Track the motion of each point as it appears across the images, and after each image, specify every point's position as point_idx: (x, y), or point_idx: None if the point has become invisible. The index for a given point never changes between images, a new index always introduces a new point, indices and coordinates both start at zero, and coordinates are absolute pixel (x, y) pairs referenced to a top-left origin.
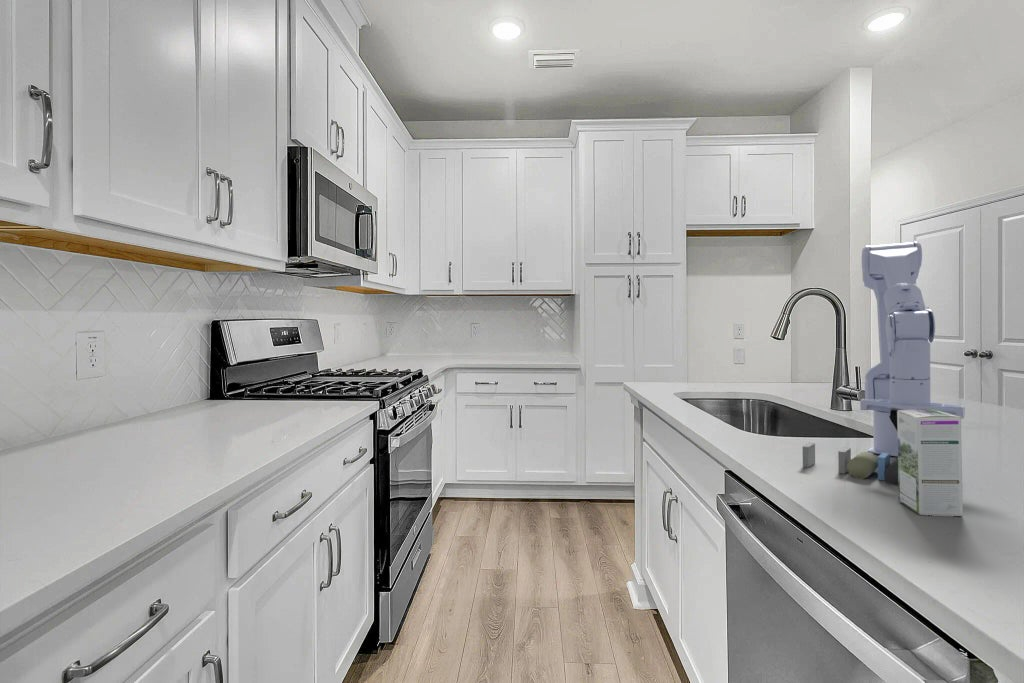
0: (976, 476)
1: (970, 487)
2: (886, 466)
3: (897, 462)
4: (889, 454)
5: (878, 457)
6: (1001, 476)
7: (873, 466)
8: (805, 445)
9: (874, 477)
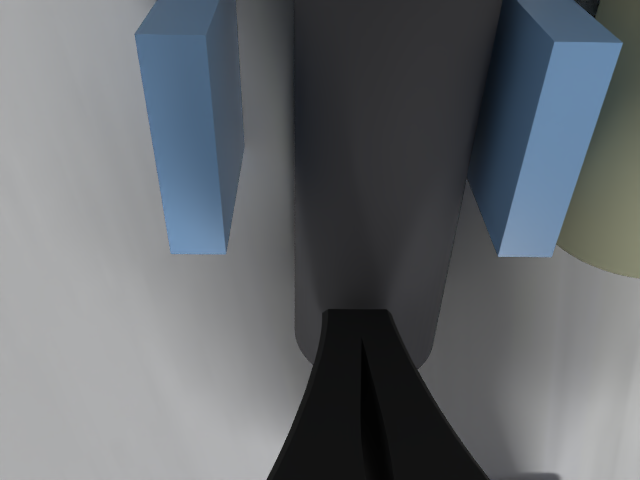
0: (76, 382)
1: (6, 166)
2: (502, 82)
3: (425, 64)
4: (498, 242)
5: (613, 37)
6: (4, 431)
7: None
8: None
9: None
